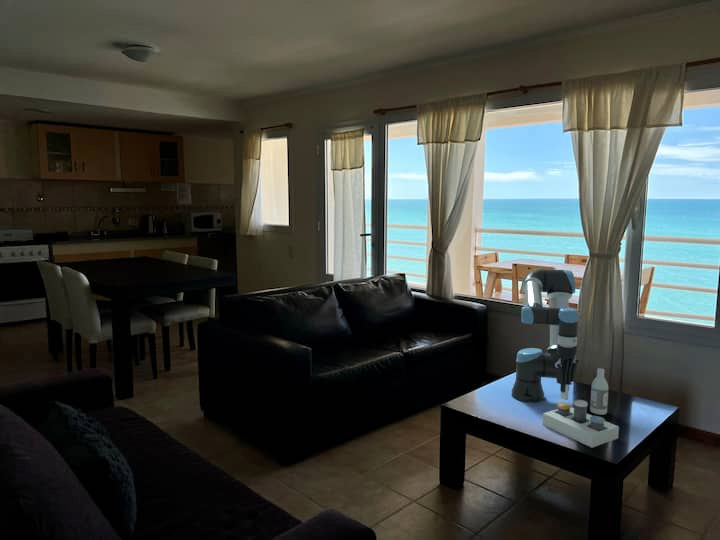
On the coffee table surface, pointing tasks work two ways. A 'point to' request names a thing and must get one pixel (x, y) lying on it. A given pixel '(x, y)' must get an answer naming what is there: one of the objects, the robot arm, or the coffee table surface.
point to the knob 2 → (580, 411)
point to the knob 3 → (597, 423)
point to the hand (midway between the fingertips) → (564, 398)
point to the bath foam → (599, 394)
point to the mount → (580, 428)
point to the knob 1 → (564, 409)
